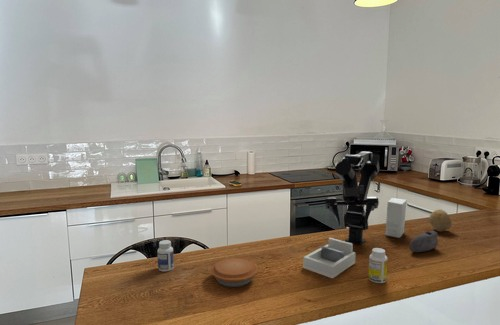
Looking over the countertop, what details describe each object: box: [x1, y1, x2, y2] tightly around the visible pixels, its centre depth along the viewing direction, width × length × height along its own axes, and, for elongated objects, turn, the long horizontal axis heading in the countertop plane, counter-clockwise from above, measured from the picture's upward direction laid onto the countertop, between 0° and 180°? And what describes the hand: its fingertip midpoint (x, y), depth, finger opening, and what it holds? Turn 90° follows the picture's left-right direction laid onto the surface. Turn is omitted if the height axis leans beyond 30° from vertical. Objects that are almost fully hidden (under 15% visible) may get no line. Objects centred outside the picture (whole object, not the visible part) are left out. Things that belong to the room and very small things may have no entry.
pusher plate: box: [320, 245, 344, 262], centre depth 126 cm, size 1×8×4 cm, turn 47°
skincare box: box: [385, 197, 407, 239], centre depth 156 cm, size 8×7×16 cm
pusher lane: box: [302, 237, 356, 279], centre depth 125 cm, size 16×12×7 cm
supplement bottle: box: [367, 247, 388, 284], centre depth 114 cm, size 6×6×10 cm
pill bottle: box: [157, 239, 175, 272], centre depth 123 cm, size 5×5×10 cm
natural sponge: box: [428, 209, 453, 232], centre depth 160 cm, size 9×9×10 cm
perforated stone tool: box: [409, 230, 439, 253], centre depth 138 cm, size 15×5×7 cm, turn 116°
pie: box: [210, 257, 259, 288], centre depth 115 cm, size 16×16×5 cm
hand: (352, 225), depth 127 cm, fingers open, 9 cm apart
